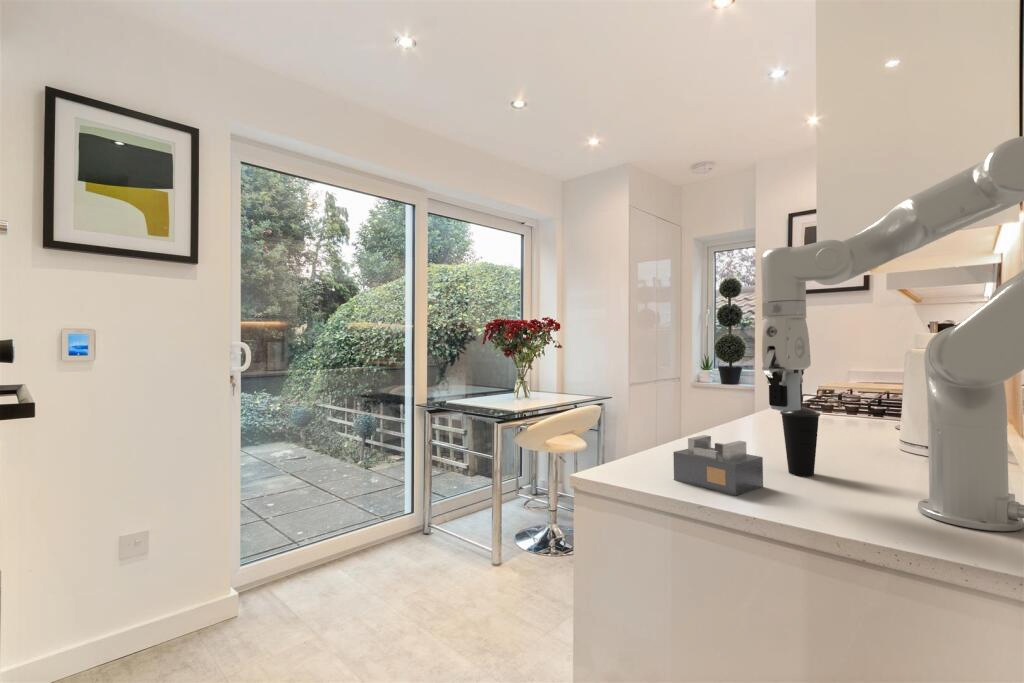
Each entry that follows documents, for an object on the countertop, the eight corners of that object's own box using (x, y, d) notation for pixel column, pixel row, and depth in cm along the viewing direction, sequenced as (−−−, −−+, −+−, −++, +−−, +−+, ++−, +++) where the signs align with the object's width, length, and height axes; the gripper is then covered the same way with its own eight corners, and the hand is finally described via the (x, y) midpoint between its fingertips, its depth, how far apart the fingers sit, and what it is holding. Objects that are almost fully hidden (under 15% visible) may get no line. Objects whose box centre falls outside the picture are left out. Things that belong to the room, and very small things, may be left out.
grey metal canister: (805, 409, 93) (804, 367, 93) (792, 411, 91) (791, 368, 91) (779, 406, 97) (778, 367, 98) (766, 408, 95) (765, 368, 95)
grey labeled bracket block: (763, 486, 98) (762, 442, 98) (735, 496, 92) (734, 448, 92) (701, 472, 109) (701, 432, 109) (673, 479, 104) (673, 437, 104)
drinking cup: (810, 469, 110) (808, 382, 111) (828, 478, 103) (826, 385, 103) (775, 469, 111) (773, 382, 111) (791, 478, 104) (789, 385, 104)
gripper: (781, 309, 86) (783, 410, 86) (824, 311, 96) (826, 403, 96) (741, 312, 92) (743, 406, 92) (785, 314, 102) (787, 399, 102)
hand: (785, 403), depth 94 cm, fingers closed on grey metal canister, 5 cm apart
